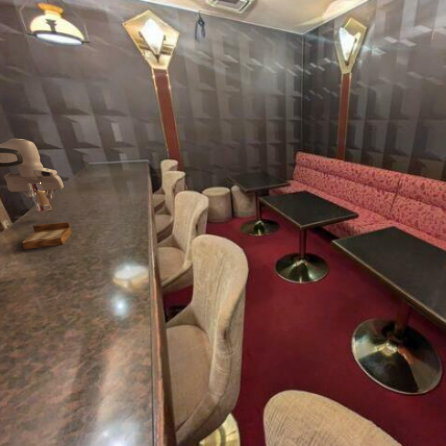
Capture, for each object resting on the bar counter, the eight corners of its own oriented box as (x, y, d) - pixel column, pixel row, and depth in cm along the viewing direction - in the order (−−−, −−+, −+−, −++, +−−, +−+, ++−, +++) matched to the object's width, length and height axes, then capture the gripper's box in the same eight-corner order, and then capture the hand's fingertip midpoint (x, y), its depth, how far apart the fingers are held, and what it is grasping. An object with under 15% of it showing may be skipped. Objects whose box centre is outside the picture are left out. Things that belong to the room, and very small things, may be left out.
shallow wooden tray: (24, 249, 100) (19, 237, 98) (37, 236, 112) (33, 225, 110) (63, 244, 106) (59, 232, 104) (72, 232, 117) (68, 221, 115)
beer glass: (50, 207, 136) (42, 180, 131) (55, 209, 133) (47, 182, 127) (33, 210, 130) (23, 182, 125) (37, 212, 127) (28, 184, 122)
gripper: (-1, 174, 117) (9, 201, 122) (56, 172, 127) (64, 198, 131) (6, 171, 122) (15, 198, 127) (60, 170, 132) (67, 195, 136)
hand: (40, 198), depth 129 cm, fingers closed on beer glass, 6 cm apart
